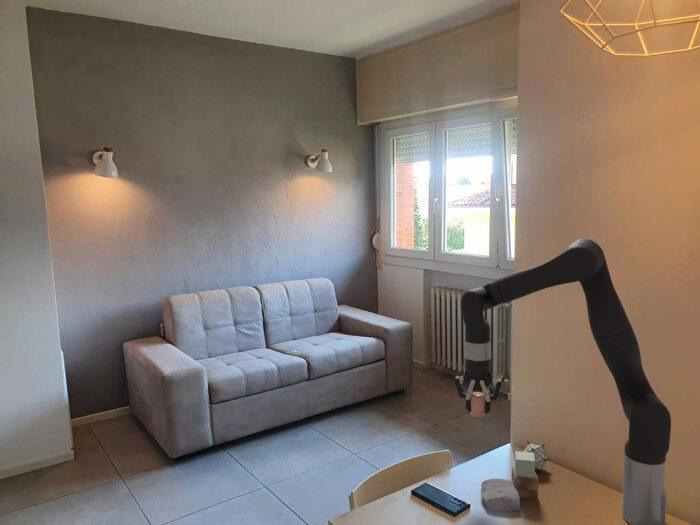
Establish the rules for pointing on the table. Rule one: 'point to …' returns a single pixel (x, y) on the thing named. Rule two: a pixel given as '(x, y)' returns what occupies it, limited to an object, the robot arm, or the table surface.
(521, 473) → the sage cube
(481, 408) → the terracotta cylinder
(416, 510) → the table surface
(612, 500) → the table surface
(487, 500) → the stone block
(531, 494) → the walnut cube
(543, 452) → the white knobbed polyhedron
